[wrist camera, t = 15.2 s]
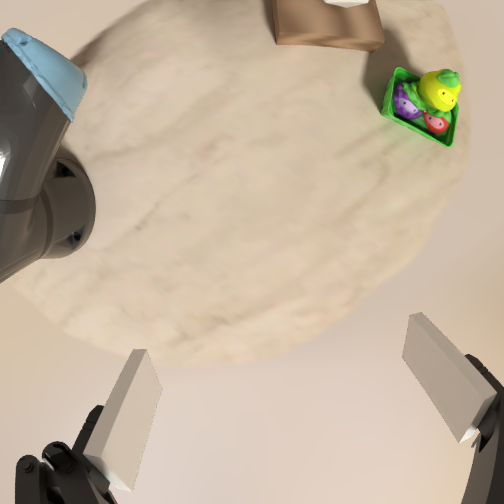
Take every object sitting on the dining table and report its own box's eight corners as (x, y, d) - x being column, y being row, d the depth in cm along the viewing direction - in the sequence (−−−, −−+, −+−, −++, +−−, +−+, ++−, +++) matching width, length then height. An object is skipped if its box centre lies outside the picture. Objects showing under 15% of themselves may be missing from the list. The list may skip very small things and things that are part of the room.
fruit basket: (370, 119, 34) (412, 107, 23) (381, 67, 32) (422, 43, 21) (432, 149, 35) (481, 151, 24) (441, 100, 33) (488, 91, 22)
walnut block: (275, 46, 31) (280, 31, 27) (267, -24, 27) (269, -42, 22) (371, 53, 31) (385, 42, 27) (355, -16, 27) (365, -30, 22)
